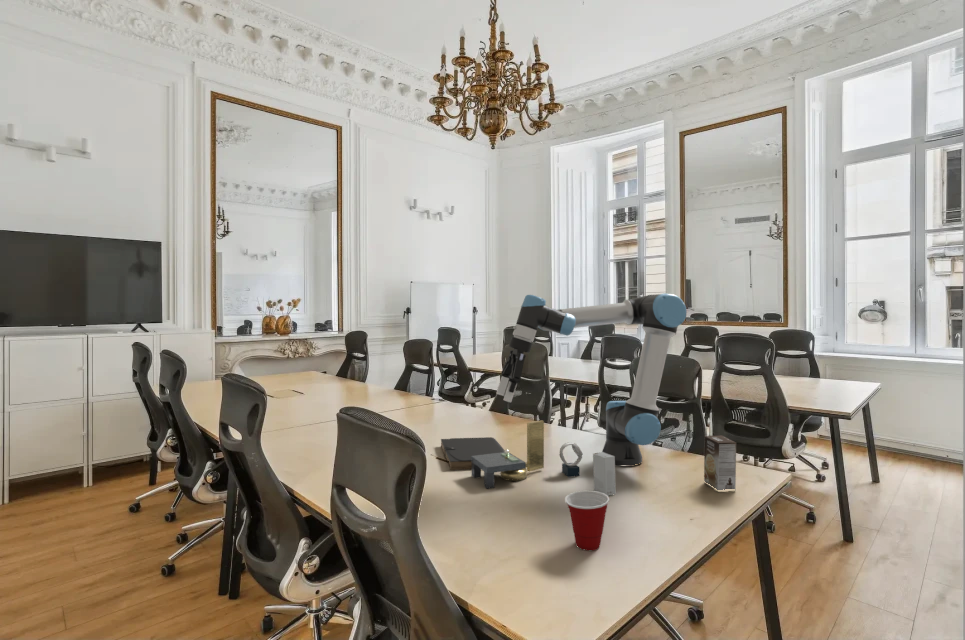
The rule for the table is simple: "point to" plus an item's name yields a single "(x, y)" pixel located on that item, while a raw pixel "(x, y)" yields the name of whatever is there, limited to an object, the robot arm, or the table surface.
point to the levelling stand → (494, 465)
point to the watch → (571, 468)
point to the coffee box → (720, 462)
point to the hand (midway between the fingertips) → (503, 398)
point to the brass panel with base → (530, 452)
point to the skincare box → (604, 473)
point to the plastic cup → (587, 517)
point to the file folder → (468, 450)
